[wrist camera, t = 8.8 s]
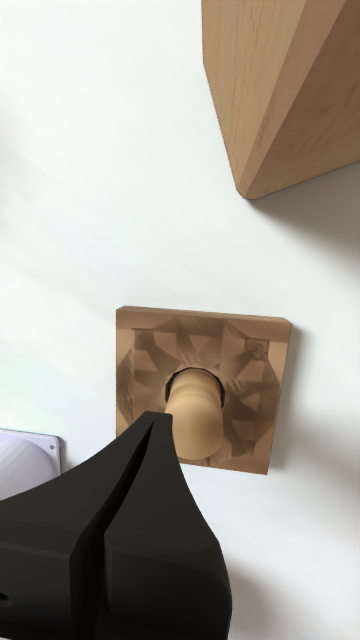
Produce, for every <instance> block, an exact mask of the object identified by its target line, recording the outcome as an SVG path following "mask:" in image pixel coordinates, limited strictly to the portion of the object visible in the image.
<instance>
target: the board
mask: <svg viewBox="0 0 360 640" xmlns="http://www.w3.org/2000/svg"><path fill="white" fill-rule="evenodd" d="M290 328H291V323H290V322H289V321H287V320H286V319H284V318H280V317H267V316H254V315H240V314H227V313H214V312H201V311H188V310H174V309H161V308H148V307H135V306H123V307H121V308H119V309H117V310H116V438H117V437H118V436H119V435H120V434H122V433H123V432H124V431H125V430H126V429H127V428H128V427H129V426H130V425H131V424H132V423H133V422H134V421H135V420H136V419H137V418H138V417H139V416H140V415H141V414H142V413H143V412H145V411H153V412H161V413H165V409H166V406H167V402H168V399H169V396H170V390H169V379H170V378H171V377H172V375H173V374H174V373H176V372H178V371H180V370H183V369H185V368H187V367H194V368H204V369H206V370H208V371H209V372H211V373H212V374H214V375H215V376H217V377H218V378H219V379H220V381H221V383H222V385H223V394H222V395H221V399H220V401H221V412H222V422H223V433H224V434H223V441H222V444H221V446H220V447H219V449H218V450H217V451H216V452H215V453H214V454H212V455H211V456H209V457H207V458H204V459H199V460H189V459H184V458H181V457H179V456H177V457H178V460H179V463H182V464H190V465H197V466H204V467H212V468H219V469H226V470H234V471H241V472H248V473H256V474H263V475H267V473H268V466H269V460H270V454H271V448H272V441H273V435H274V429H275V422H276V416H277V410H278V404H279V397H280V391H281V385H282V379H283V372H284V366H285V360H286V353H287V347H288V341H289V335H290Z"/></svg>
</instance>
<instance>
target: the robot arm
mask: <svg viewBox="0 0 360 640" xmlns="http://www.w3.org/2000/svg"><path fill="white" fill-rule="evenodd" d="M172 426H173V416H172V414H169V413H161V412H153V411H145V412H143V413H142V414H141V415H140V416H139V417H138V418H137V419H136V420H135V421H134V422H133V423H132V424H131V425H130V426H129V427H128V428H127V429H126V430H125V431H124V432H123V433H122V434H120V435H119V436H118V437H117V438H116V439H114V440H113V441H112V442H111V443H110V444H108V445H107V446H106V447H105V448H103V449H102V450H101V451H99V452H98V453H96V454H95V455H94V456H92V457H91V458H89V459H88V460H86V461H84V462H83V463H81V464H79V465H77V466H76V467H74V468H72V469H70V470H69V471H67V472H65V473H63V474H61V471H60V454H59V440H58V439H57V438H56V437H54V436H47V435H40V434H32V433H25V432H17V431H10V430H2V429H0V640H227V639H228V633H229V627H230V621H231V615H232V595H231V588H230V583H229V578H228V573H227V569H226V565H225V561H224V558H223V554H222V551H221V547H220V544H219V541H218V540H217V538H216V537H215V535H214V533H213V532H212V530H211V529H210V527H209V526H208V524H207V522H206V521H205V519H204V517H203V515H202V514H201V512H200V510H199V508H198V506H197V504H196V502H195V500H194V498H193V496H192V494H191V492H190V490H189V488H188V485H187V483H186V480H185V478H184V475H183V473H182V470H181V467H180V464H179V460H178V457H177V453H176V449H175V444H174V439H173V432H172ZM52 445H53V446H54V447H53V446H52Z"/></svg>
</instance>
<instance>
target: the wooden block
mask: <svg viewBox="0 0 360 640" xmlns="http://www.w3.org/2000/svg"><path fill="white" fill-rule="evenodd" d="M201 7H202V45H203V64H204V68H205V72H206V76H207V80H208V83H209V87H210V91H211V95H212V99H213V102H214V106H215V110H216V114H217V118H218V121H219V125H220V129H221V133H222V137H223V140H224V144H225V148H226V152H227V156H228V159H229V163H230V167H231V171H232V175H233V178H234V182H235V186H236V190H237V191H238V192H239V194H240V195H241V196H242V198H243V199H257V198H259V197H262V196H265V195H267V194H270V193H273V192H276V191H278V190H281V189H284V188H287V187H289V186H292V185H295V184H298V183H300V182H303V181H306V180H309V179H311V178H314V177H317V176H320V175H322V174H325V173H328V172H331V171H333V170H336V169H339V168H341V167H344V166H347V165H350V164H352V163H355V162H358V161H360V0H201Z"/></svg>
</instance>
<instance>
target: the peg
mask: <svg viewBox="0 0 360 640" xmlns="http://www.w3.org/2000/svg"><path fill="white" fill-rule="evenodd" d="M220 399H221V388H220V384H219V382H218V380H217V379H216V377H215V376H214V374H212V373H211V372H209V371H208V370H206V369H204V368H194V367H187V368H185V369H183V370H181V372H180V373H178V374H177V375H176V377H175V378H174V379H173V382H172V385H171V388H170V396H169V399H168V402H167V406H166V409H165V413H169V414H172V416H173V426H172V432H173V439H174V444H175V449H176V453H177V456H179V457H181V458H184V459H189V460H199V459H204V458H207V457H209V456H211V455H212V454H214V453H215V452H216V451H217V450H218V449H219V447H220V446H221V444H222V441H223V434H224V433H223V422H222V412H221V401H220Z"/></svg>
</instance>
